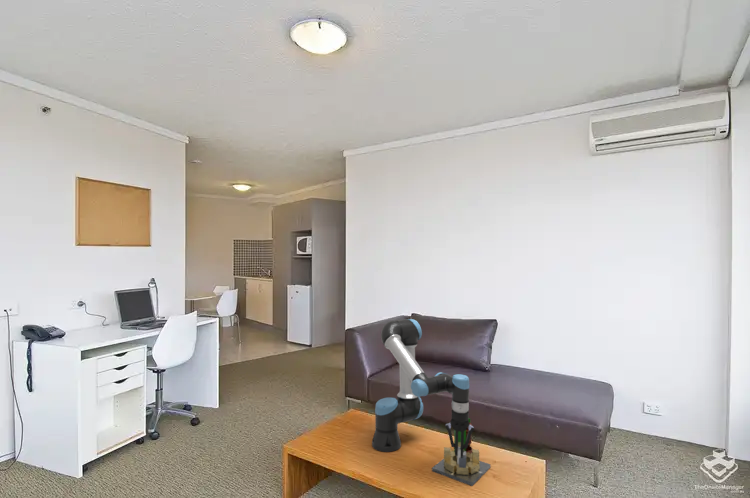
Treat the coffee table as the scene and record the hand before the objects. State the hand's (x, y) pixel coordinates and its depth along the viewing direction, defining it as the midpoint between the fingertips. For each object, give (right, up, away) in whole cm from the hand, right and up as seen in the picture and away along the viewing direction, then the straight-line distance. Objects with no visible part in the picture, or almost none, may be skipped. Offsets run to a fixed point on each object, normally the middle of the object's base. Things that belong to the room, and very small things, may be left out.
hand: (458, 462), depth 185 cm
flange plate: (+2, -6, +6) cm, 9 cm away
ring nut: (+2, -4, +6) cm, 8 cm away
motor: (+7, -7, +23) cm, 25 cm away
